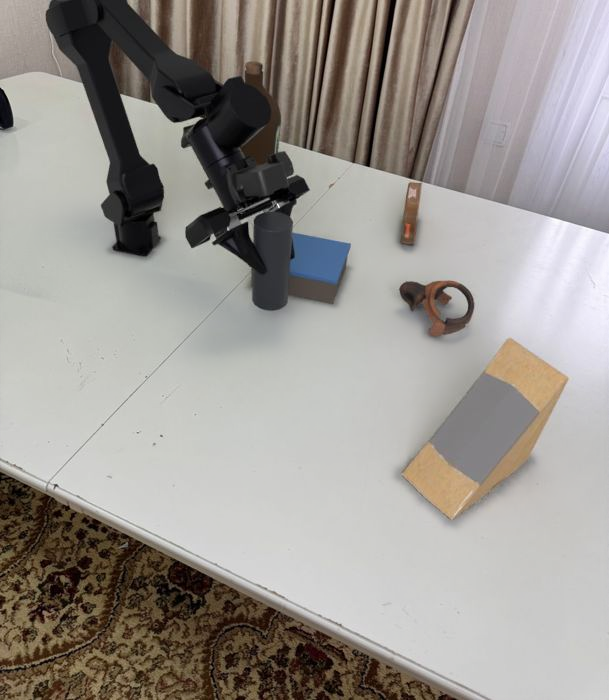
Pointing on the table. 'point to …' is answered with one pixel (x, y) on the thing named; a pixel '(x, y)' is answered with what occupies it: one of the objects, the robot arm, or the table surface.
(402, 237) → the tin
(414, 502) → the table surface
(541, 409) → the sandwich container
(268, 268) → the dark grey cylinder
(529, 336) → the table surface
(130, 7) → the robot arm
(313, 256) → the container
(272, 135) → the olive oil
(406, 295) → the brown ring with knob
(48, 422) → the table surface
